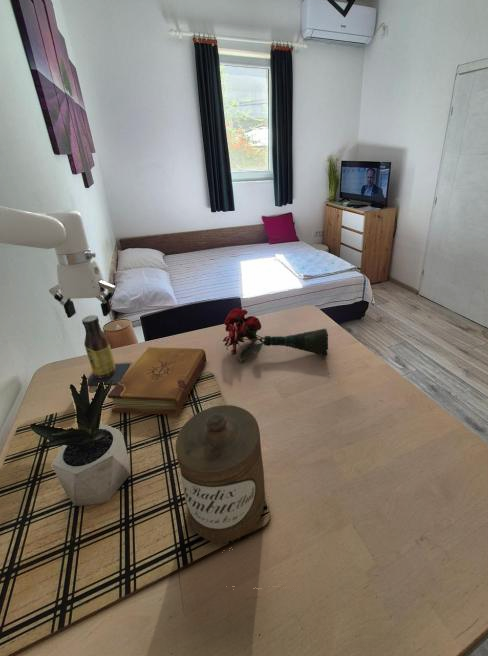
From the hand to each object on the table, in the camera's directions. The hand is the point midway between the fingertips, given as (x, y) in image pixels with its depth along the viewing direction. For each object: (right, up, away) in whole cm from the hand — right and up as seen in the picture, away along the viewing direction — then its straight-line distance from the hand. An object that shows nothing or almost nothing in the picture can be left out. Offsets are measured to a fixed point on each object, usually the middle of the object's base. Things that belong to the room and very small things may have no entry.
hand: (89, 314), depth 93 cm
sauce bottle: (0, -19, +9) cm, 21 cm away
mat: (0, -19, +9) cm, 21 cm away
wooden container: (+45, -35, -29) cm, 64 cm away
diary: (+20, -22, +4) cm, 30 cm away
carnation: (+53, -14, +20) cm, 58 cm away
